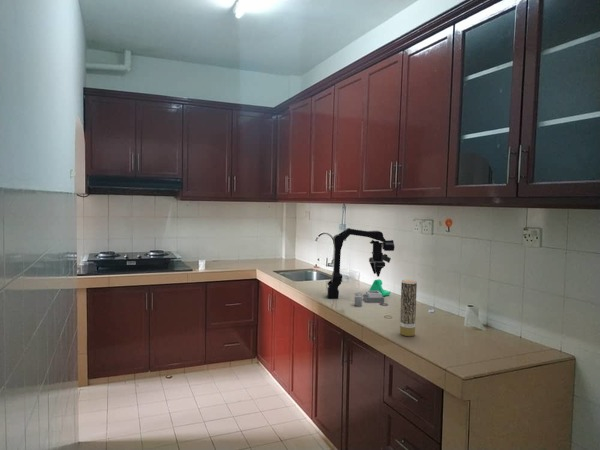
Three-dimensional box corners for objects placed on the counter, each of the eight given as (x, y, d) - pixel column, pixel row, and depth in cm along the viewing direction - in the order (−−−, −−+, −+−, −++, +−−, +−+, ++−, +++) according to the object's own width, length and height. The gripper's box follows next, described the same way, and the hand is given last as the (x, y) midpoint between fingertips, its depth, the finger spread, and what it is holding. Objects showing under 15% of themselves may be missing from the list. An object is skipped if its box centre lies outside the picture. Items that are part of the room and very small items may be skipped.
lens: (355, 306, 234) (355, 295, 234) (353, 304, 239) (353, 293, 238) (362, 306, 235) (363, 295, 234) (361, 304, 239) (361, 293, 239)
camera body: (366, 302, 244) (366, 293, 244) (363, 299, 252) (363, 290, 252) (384, 302, 245) (384, 293, 245) (380, 299, 253) (380, 290, 253)
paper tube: (417, 334, 188) (419, 281, 186) (410, 337, 183) (411, 283, 182) (404, 330, 193) (406, 279, 191) (397, 334, 188) (398, 280, 186)
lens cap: (380, 306, 237) (381, 305, 237) (378, 304, 242) (378, 303, 242) (389, 306, 238) (389, 305, 238) (386, 304, 243) (386, 302, 243)
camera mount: (390, 295, 263) (391, 280, 263) (382, 297, 259) (383, 281, 258) (377, 292, 273) (378, 277, 273) (369, 293, 269) (369, 278, 268)
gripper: (393, 252, 246) (392, 278, 247) (386, 249, 265) (385, 272, 266) (375, 252, 246) (374, 278, 247) (369, 248, 264) (368, 272, 266)
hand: (376, 275), depth 256 cm, fingers open, 9 cm apart
